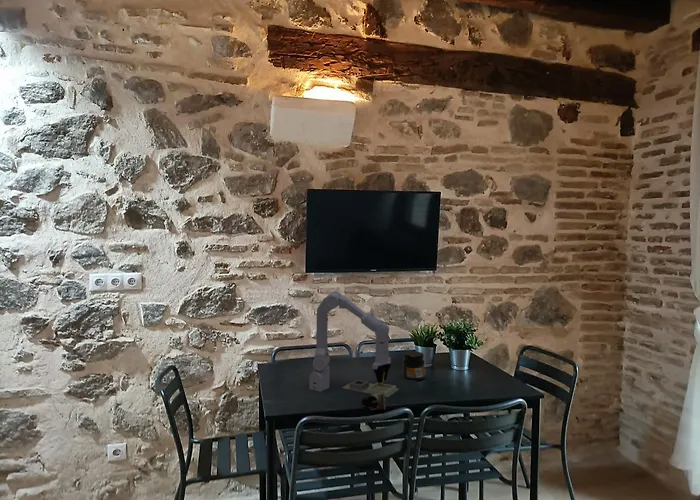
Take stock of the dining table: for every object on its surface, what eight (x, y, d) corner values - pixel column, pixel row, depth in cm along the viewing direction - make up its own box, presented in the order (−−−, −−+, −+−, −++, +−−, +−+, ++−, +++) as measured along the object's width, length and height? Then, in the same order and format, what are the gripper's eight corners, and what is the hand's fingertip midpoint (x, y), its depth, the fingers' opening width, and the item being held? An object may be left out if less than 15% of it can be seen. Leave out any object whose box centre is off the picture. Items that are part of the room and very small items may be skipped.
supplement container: (422, 382, 238) (422, 357, 237) (400, 380, 241) (400, 355, 241) (426, 376, 248) (426, 352, 247) (405, 373, 251) (405, 350, 251)
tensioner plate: (388, 398, 217) (388, 397, 217) (341, 389, 228) (341, 387, 228) (399, 390, 227) (399, 388, 227) (354, 382, 238) (354, 380, 238)
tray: (386, 395, 218) (386, 392, 218) (367, 392, 223) (367, 388, 222) (395, 388, 227) (395, 385, 227) (377, 385, 231) (377, 382, 231)
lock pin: (382, 387, 223) (383, 373, 222) (375, 385, 224) (376, 372, 224) (385, 385, 226) (386, 371, 225) (378, 383, 227) (379, 369, 226)
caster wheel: (364, 408, 212) (387, 406, 211) (361, 413, 201) (385, 410, 200) (362, 392, 214) (385, 389, 212) (358, 395, 203) (383, 393, 201)
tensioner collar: (362, 389, 226) (362, 386, 226) (349, 386, 230) (349, 383, 229) (369, 384, 232) (369, 381, 232) (356, 382, 235) (356, 379, 235)
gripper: (383, 356, 215) (382, 387, 216) (397, 348, 228) (396, 378, 229) (368, 353, 219) (368, 384, 220) (383, 346, 231) (382, 375, 232)
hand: (381, 381), depth 224 cm, fingers closed on lock pin, 3 cm apart
